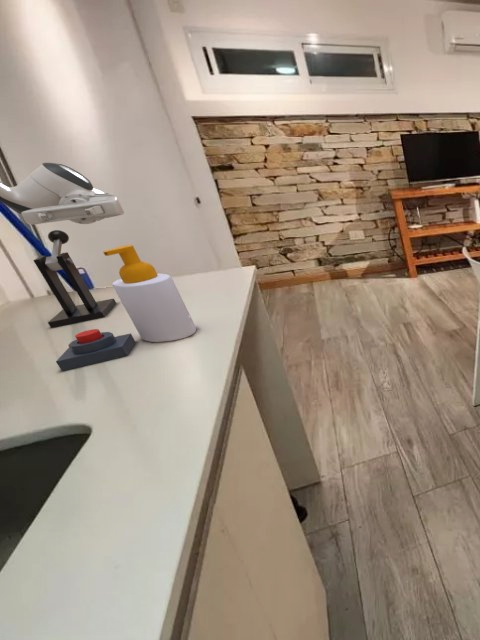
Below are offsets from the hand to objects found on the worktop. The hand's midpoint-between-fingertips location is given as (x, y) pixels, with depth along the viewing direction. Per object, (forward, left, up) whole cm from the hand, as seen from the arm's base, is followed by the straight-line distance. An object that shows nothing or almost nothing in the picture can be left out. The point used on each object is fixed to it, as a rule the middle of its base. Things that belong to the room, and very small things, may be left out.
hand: (66, 215), depth 130 cm
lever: (0, -16, -8) cm, 18 cm away
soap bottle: (+22, -55, -23) cm, 64 cm away
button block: (+11, -59, -22) cm, 64 cm away
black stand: (0, -22, -22) cm, 32 cm away
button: (+11, -59, -19) cm, 63 cm away
